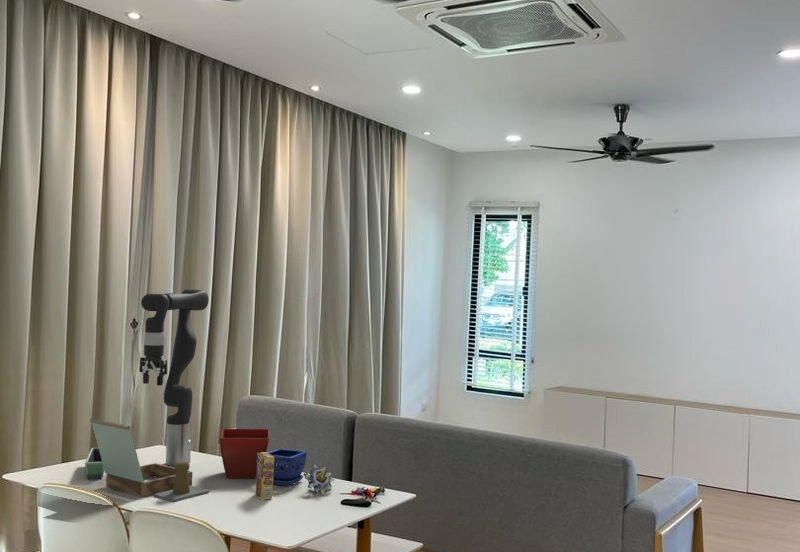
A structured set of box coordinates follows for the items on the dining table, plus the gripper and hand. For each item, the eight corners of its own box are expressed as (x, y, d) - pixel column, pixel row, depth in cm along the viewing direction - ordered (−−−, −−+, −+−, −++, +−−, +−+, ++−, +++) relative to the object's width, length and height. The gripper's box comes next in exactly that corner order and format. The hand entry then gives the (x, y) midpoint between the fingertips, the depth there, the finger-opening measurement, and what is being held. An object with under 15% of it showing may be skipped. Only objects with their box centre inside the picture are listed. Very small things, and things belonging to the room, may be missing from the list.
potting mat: (189, 487, 287) (189, 485, 287) (209, 492, 281) (209, 490, 281) (153, 496, 274) (154, 494, 274) (174, 501, 268) (174, 499, 268)
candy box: (273, 499, 275) (274, 456, 275) (261, 500, 273) (262, 457, 273) (266, 493, 283) (267, 451, 283) (255, 494, 281) (256, 452, 281)
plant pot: (267, 480, 301) (268, 437, 301) (218, 481, 298) (219, 437, 298) (268, 469, 320) (269, 428, 320) (221, 469, 317) (222, 428, 317)
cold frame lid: (92, 418, 280) (89, 419, 279) (129, 425, 268) (127, 426, 267) (106, 472, 285) (104, 473, 284) (143, 481, 273) (141, 483, 272)
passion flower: (321, 508, 283) (311, 486, 277) (303, 497, 291) (292, 475, 285) (342, 487, 290) (333, 465, 283) (323, 477, 297) (314, 455, 291)
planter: (90, 465, 319) (91, 447, 319) (109, 464, 321) (109, 447, 321) (84, 481, 293) (84, 462, 293) (104, 480, 295) (104, 461, 295)
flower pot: (260, 484, 294) (261, 453, 294) (278, 477, 307) (278, 447, 307) (290, 489, 289) (291, 457, 289) (307, 481, 302) (308, 451, 302)
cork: (174, 489, 280) (175, 459, 281) (191, 489, 281) (192, 459, 281) (171, 494, 274) (172, 463, 275) (188, 494, 275) (189, 463, 275)
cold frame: (154, 475, 303) (155, 463, 303) (192, 485, 291) (192, 471, 291) (106, 486, 285) (106, 473, 285) (143, 497, 273) (143, 483, 273)
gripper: (173, 344, 304) (172, 385, 303) (150, 342, 312) (149, 382, 311) (157, 345, 297) (156, 387, 297) (134, 343, 305) (133, 383, 305)
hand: (152, 384), depth 304 cm, fingers open, 8 cm apart
